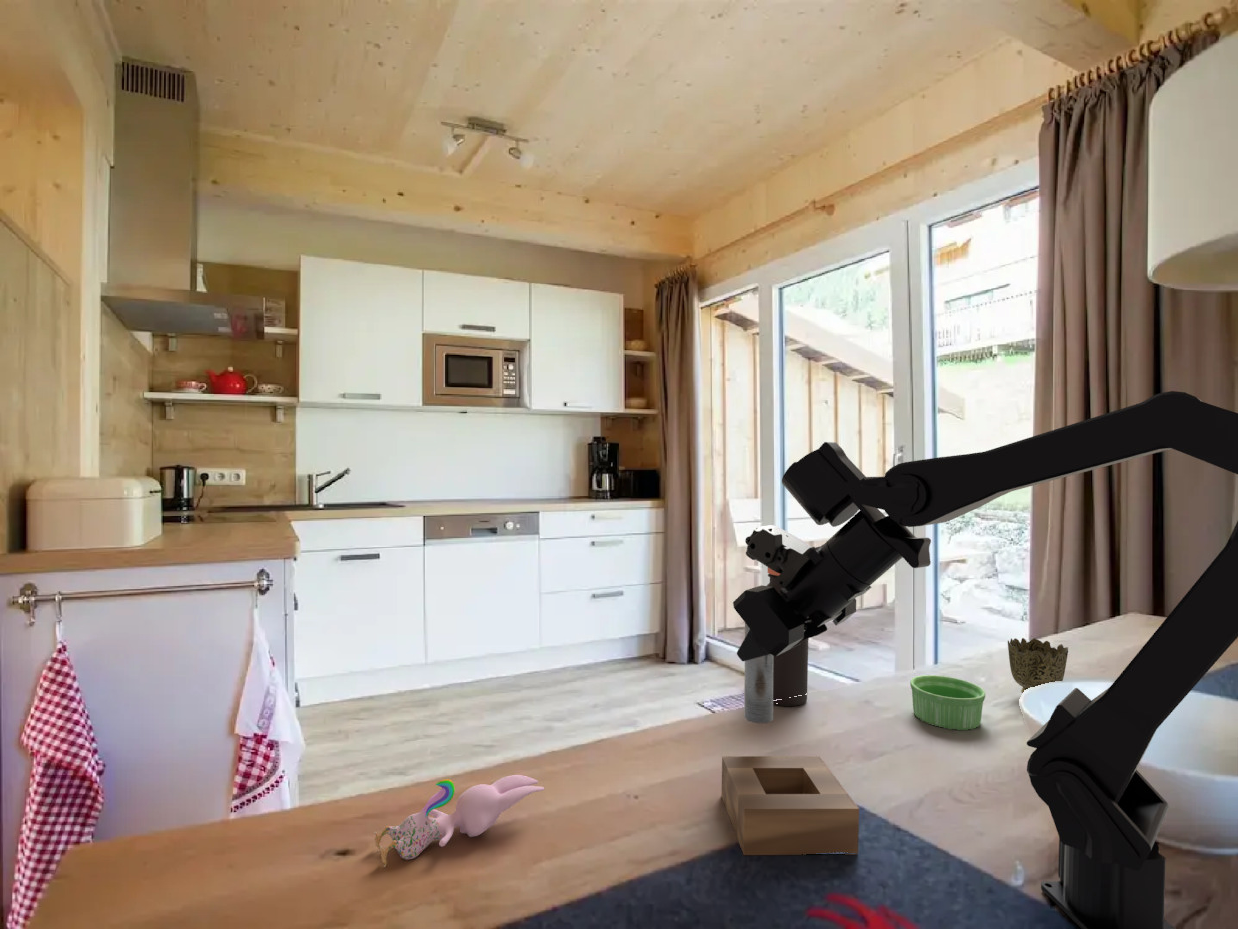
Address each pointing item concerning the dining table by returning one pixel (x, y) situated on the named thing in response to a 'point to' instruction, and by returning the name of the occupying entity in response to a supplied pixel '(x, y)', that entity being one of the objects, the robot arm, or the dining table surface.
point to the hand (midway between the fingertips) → (747, 653)
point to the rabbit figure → (456, 814)
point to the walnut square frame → (788, 806)
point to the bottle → (789, 667)
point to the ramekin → (947, 701)
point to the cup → (1036, 662)
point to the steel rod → (758, 688)
